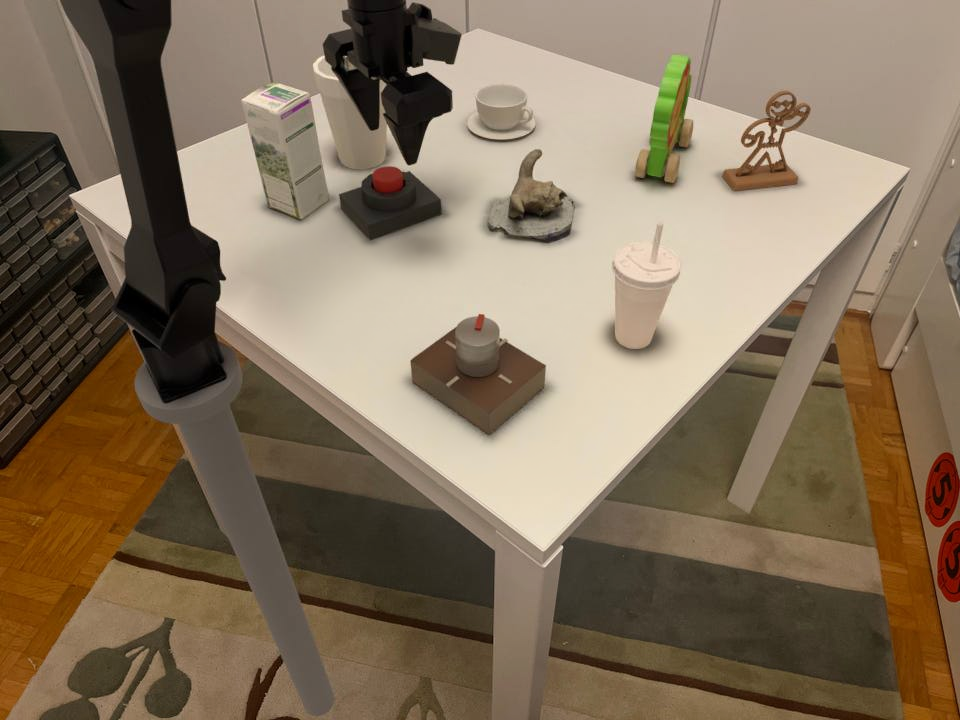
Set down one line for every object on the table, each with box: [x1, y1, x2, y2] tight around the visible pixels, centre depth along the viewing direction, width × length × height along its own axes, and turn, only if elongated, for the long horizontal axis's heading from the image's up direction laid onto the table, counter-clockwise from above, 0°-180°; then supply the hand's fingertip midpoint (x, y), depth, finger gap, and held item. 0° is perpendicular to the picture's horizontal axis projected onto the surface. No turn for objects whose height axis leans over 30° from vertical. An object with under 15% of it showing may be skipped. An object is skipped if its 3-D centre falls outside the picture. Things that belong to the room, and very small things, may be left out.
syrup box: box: [240, 81, 330, 220], centre depth 90 cm, size 6×6×14 cm
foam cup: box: [312, 55, 388, 170], centre depth 98 cm, size 10×9×13 cm
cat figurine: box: [487, 148, 575, 244], centre depth 91 cm, size 10×12×6 cm
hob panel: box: [409, 326, 547, 435], centre depth 71 cm, size 10×8×3 cm
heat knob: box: [455, 313, 501, 377], centre depth 68 cm, size 4×4×4 cm
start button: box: [371, 165, 403, 193], centre depth 90 cm, size 4×4×2 cm
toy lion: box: [634, 54, 694, 184], centre depth 96 cm, size 16×5×15 cm, turn 158°
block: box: [338, 170, 443, 241], centre depth 92 cm, size 10×8×4 cm
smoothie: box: [611, 221, 682, 350], centre depth 72 cm, size 6×6×14 cm
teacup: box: [466, 83, 536, 140], centre depth 107 cm, size 10×10×5 cm
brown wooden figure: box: [722, 90, 811, 192], centre depth 94 cm, size 9×4×12 cm, turn 101°
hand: (392, 146), depth 84 cm, fingers open, 9 cm apart
